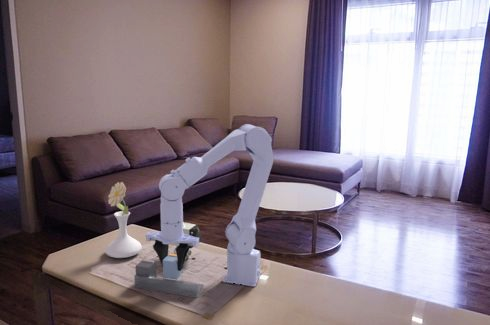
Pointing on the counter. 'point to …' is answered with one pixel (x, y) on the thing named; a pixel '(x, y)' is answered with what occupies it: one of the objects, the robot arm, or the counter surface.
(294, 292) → the counter surface
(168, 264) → the block
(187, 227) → the pneumatic valve
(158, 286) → the rail
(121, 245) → the flower in vase
